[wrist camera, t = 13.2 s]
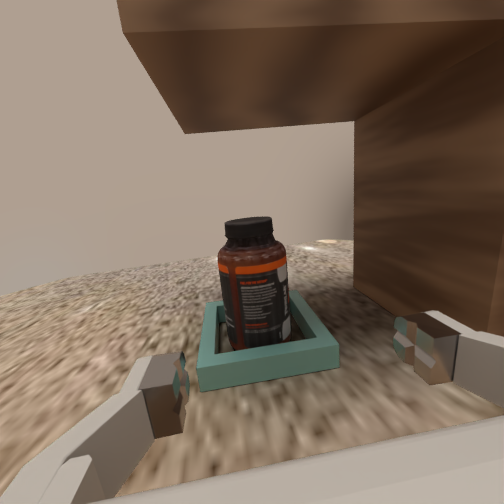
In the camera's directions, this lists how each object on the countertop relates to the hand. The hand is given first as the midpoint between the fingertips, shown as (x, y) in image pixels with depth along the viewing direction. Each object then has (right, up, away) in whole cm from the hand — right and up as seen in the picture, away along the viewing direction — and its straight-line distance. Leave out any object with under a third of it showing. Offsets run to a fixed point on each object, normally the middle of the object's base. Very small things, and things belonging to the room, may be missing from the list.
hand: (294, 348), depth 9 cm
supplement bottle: (-1, -5, +14) cm, 14 cm away
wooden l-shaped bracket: (+5, -4, +14) cm, 15 cm away
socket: (-1, -5, +14) cm, 14 cm away
